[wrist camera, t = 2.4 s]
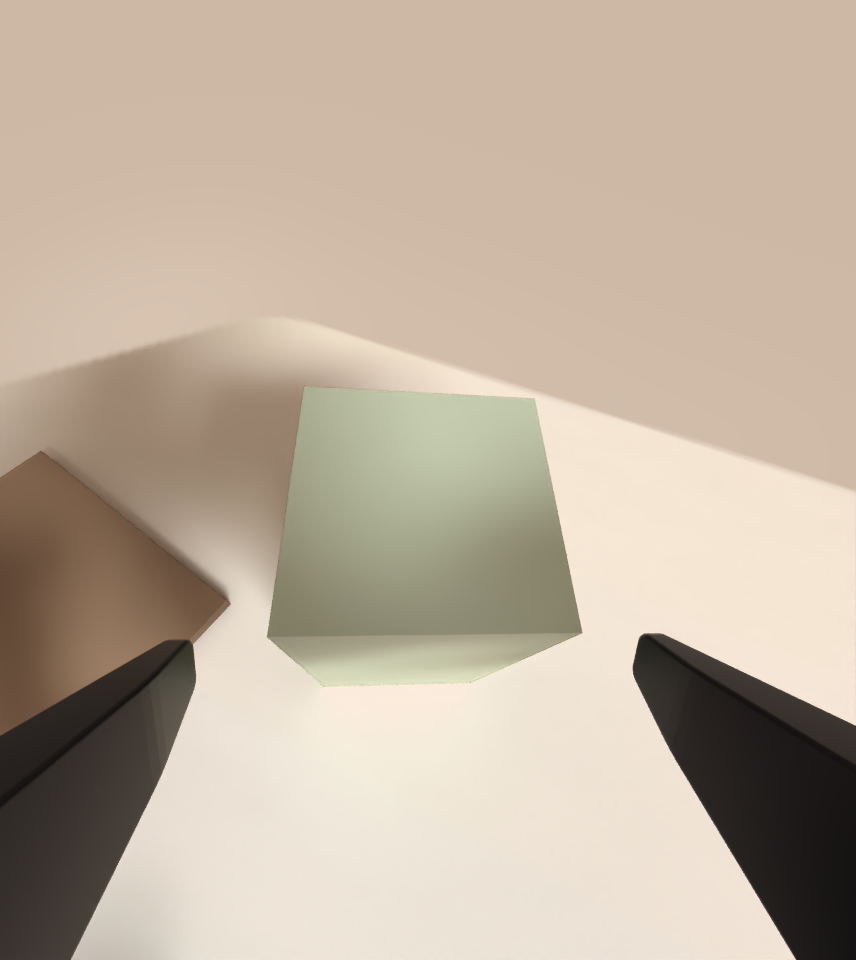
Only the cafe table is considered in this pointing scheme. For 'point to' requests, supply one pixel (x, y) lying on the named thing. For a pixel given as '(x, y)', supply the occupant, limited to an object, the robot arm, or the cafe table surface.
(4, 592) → the walnut board
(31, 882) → the robot arm
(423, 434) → the sage green block
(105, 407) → the cafe table surface
